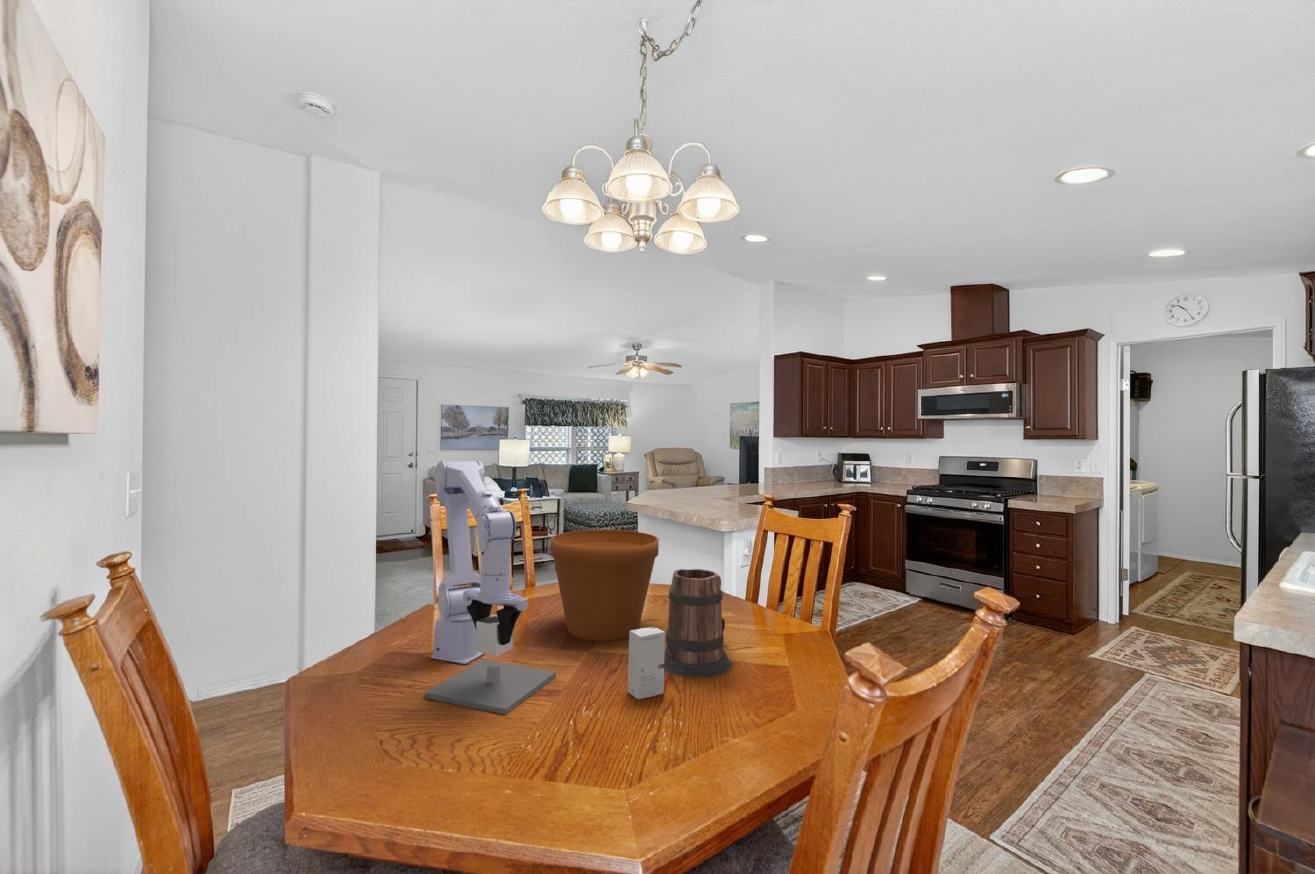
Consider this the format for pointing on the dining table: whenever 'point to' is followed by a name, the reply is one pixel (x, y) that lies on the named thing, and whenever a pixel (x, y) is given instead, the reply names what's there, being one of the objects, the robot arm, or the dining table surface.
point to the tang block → (491, 686)
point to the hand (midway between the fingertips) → (494, 641)
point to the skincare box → (646, 662)
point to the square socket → (490, 637)
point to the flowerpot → (603, 580)
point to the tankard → (695, 626)
